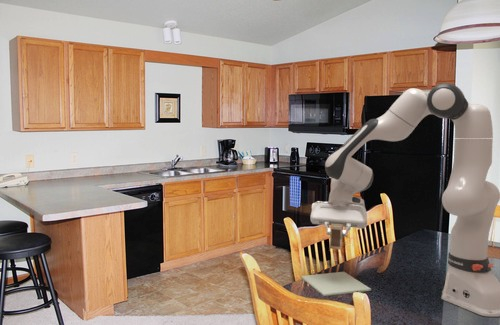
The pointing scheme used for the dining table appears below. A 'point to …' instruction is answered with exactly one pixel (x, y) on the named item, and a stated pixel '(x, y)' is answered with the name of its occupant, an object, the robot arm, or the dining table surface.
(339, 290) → the sage mat
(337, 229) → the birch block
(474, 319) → the dining table surface
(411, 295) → the dining table surface
